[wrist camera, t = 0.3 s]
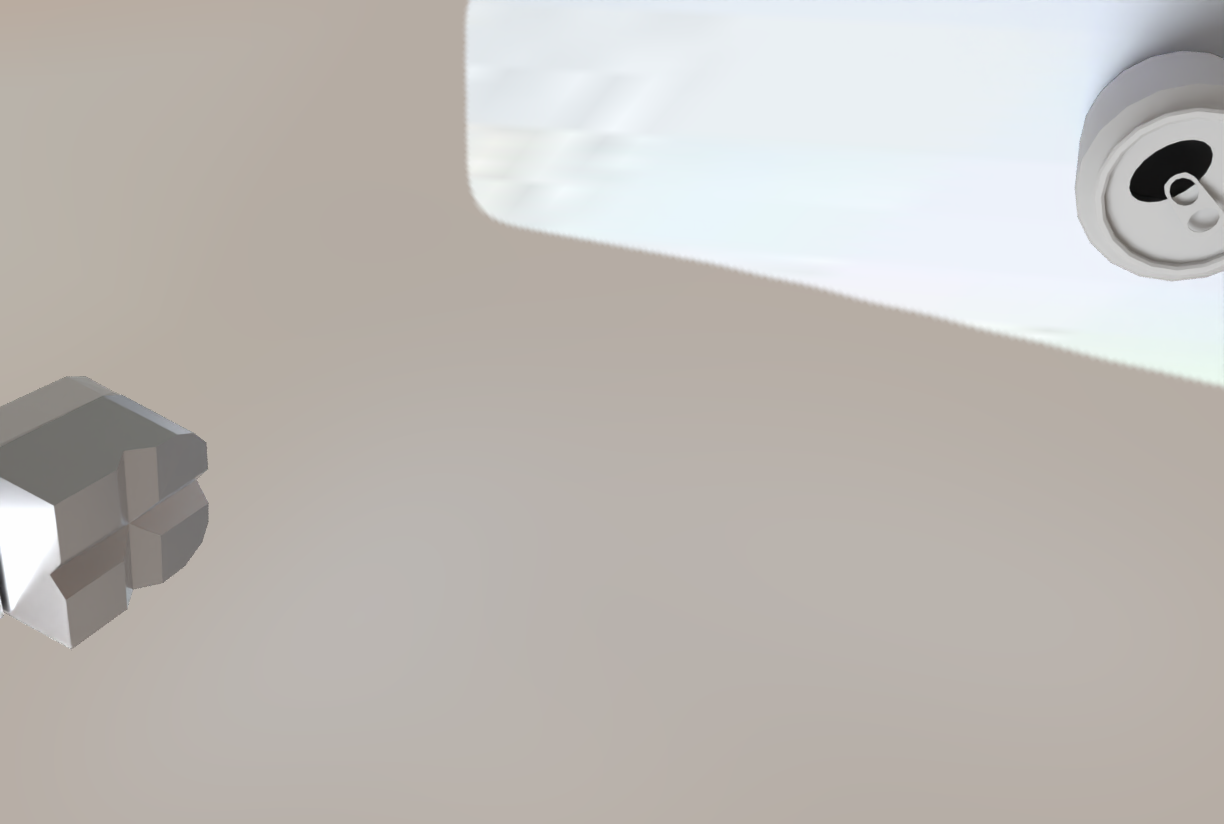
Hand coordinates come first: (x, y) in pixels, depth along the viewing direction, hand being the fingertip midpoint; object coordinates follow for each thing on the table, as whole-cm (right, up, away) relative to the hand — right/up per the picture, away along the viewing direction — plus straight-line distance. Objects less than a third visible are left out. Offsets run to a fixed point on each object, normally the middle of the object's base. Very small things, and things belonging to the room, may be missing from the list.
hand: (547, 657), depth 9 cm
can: (+27, +15, +37) cm, 48 cm away
